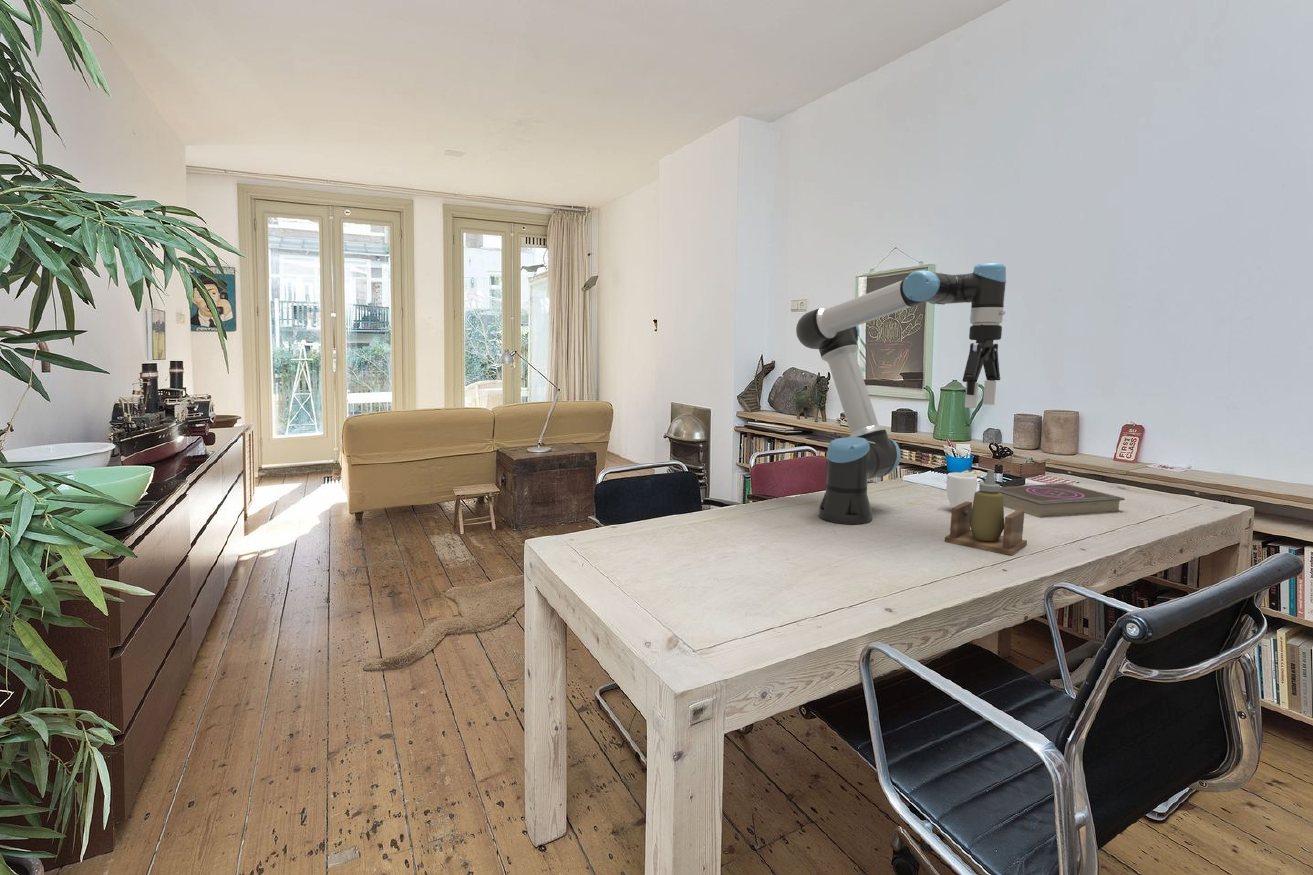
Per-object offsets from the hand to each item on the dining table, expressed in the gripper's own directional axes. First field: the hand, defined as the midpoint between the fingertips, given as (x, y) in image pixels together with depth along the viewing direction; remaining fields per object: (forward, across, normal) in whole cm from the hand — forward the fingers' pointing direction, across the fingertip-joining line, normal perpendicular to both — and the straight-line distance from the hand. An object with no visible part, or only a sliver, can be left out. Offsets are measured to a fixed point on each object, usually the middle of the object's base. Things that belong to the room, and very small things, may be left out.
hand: (979, 406), depth 169 cm
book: (+36, +50, -7) cm, 62 cm away
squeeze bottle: (+34, -7, -6) cm, 35 cm away
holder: (+35, -7, -6) cm, 36 cm away
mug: (+35, +24, +10) cm, 44 cm away
